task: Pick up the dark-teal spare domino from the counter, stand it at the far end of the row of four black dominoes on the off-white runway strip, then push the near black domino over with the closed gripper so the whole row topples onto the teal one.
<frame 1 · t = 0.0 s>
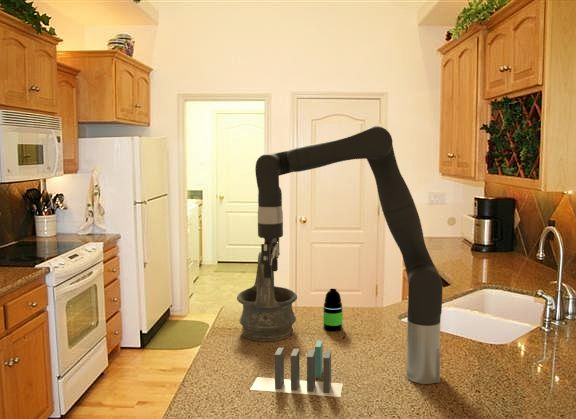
hand: (271, 274, 155), 29 cm above the worktop, fingers open, 8 cm apart
bottle: (332, 329, 192), on the worktop
domino 3: (295, 386, 144), point 1 cm above the worktop, touching runway
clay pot: (268, 333, 189), on the worktop
domino 1: (327, 388, 143), point 1 cm above the worktop, touching runway
domino 4: (279, 385, 145), point 1 cm above the worktop, touching runway
runway: (297, 388, 144), on the worktop
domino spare: (318, 376, 152), on the worktop
domino 2: (311, 387, 144), point 1 cm above the worktop, touching runway
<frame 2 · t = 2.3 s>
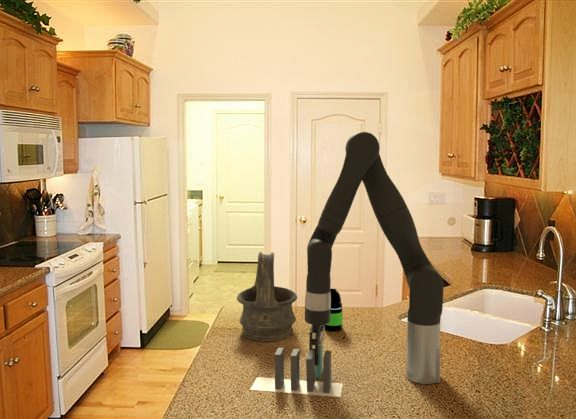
hand: (316, 358, 152), 5 cm above the worktop, fingers open, 8 cm apart
domino 2: (311, 386, 144), point 1 cm above the worktop, tilted 8°, touching runway
everything else where it was.
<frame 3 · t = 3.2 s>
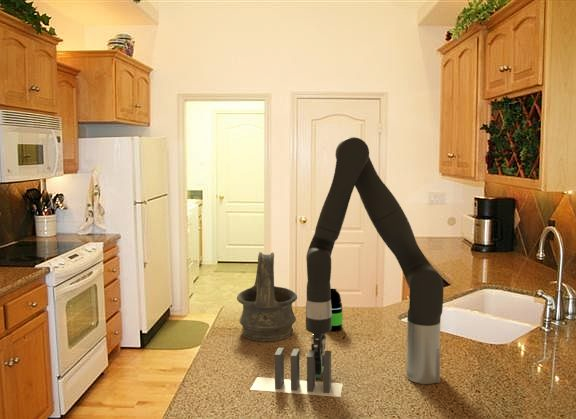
hand: (318, 369, 152), 2 cm above the worktop, fingers closed on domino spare, 5 cm apart
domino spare: (318, 376, 152), on the worktop, touching gripper
domino 2: (311, 387, 144), point 1 cm above the worktop, touching hand, runway
everything else where it was.
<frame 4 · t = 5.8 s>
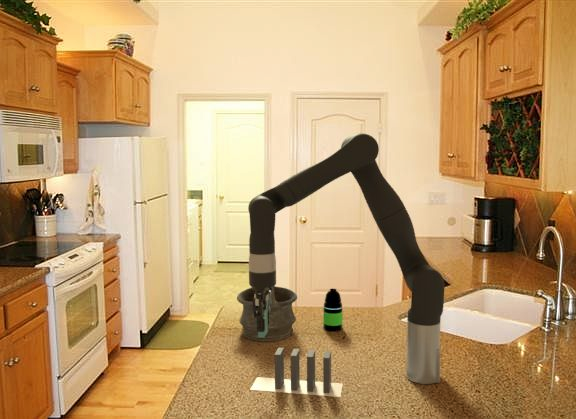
hand: (263, 327, 144), 17 cm above the worktop, fingers closed on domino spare, 5 cm apart
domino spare: (263, 334, 144), point 15 cm above the worktop, touching gripper
domino 2: (311, 387, 144), point 1 cm above the worktop, touching runway
everything else where it was.
when the fingers open (3 cm above the worktop, at t = 8.8 s): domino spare stays where it is, resting on runway.
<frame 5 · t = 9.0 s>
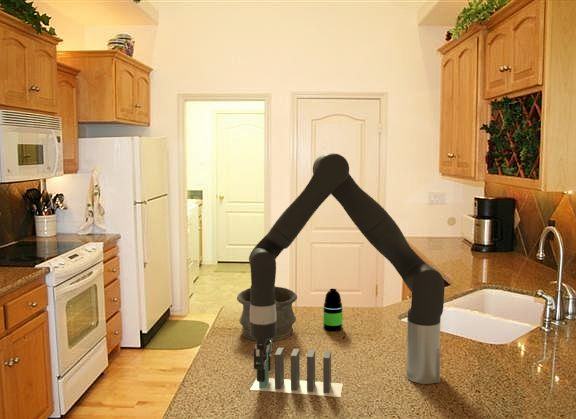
hand: (264, 375, 146), 3 cm above the worktop, fingers open, 6 cm apart
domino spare: (264, 384, 146), point 1 cm above the worktop, touching runway
everything else where it was.
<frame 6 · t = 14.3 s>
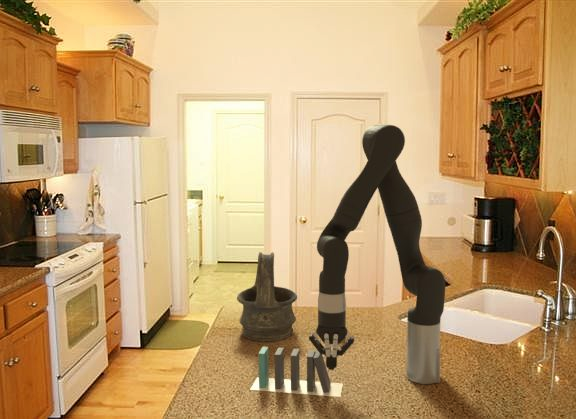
hand: (331, 368, 142), 7 cm above the worktop, fingers closed
domino 1: (327, 388, 143), point 1 cm above the worktop, tilted 16°, touching runway
everything else where it was.
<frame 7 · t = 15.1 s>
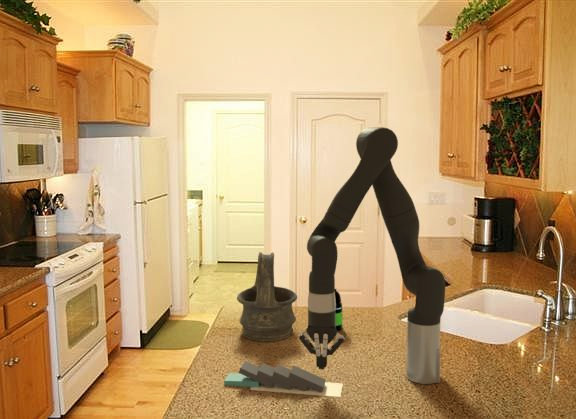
hand: (321, 368, 142), 7 cm above the worktop, fingers closed
domino 3: (292, 383, 144), point 1 cm above the worktop, tilted 69°, touching domino 2, domino 4, runway
domino 1: (323, 385, 143), point 1 cm above the worktop, tilted 69°, touching domino 2, runway
domino 4: (273, 381, 145), point 2 cm above the worktop, tilted 69°, touching domino 3, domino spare
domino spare: (260, 380, 146), point 1 cm above the worktop, tilted 93°, touching domino 4, runway
domino 2: (307, 384, 144), point 1 cm above the worktop, tilted 69°, touching domino 1, domino 3
everything else where it was.
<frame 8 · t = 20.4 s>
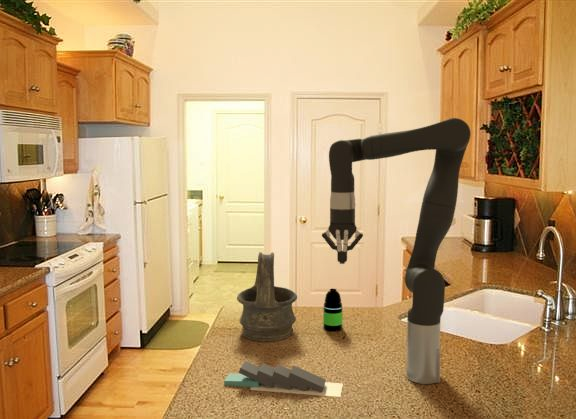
hand: (342, 263, 157), 32 cm above the worktop, fingers closed
nothing on the worktop moved.
at the end: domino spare tilted 93°; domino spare inside the target area (0.5 cm from its centre), point 1.5 cm above the worktop; domino 1 tilted 69° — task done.
